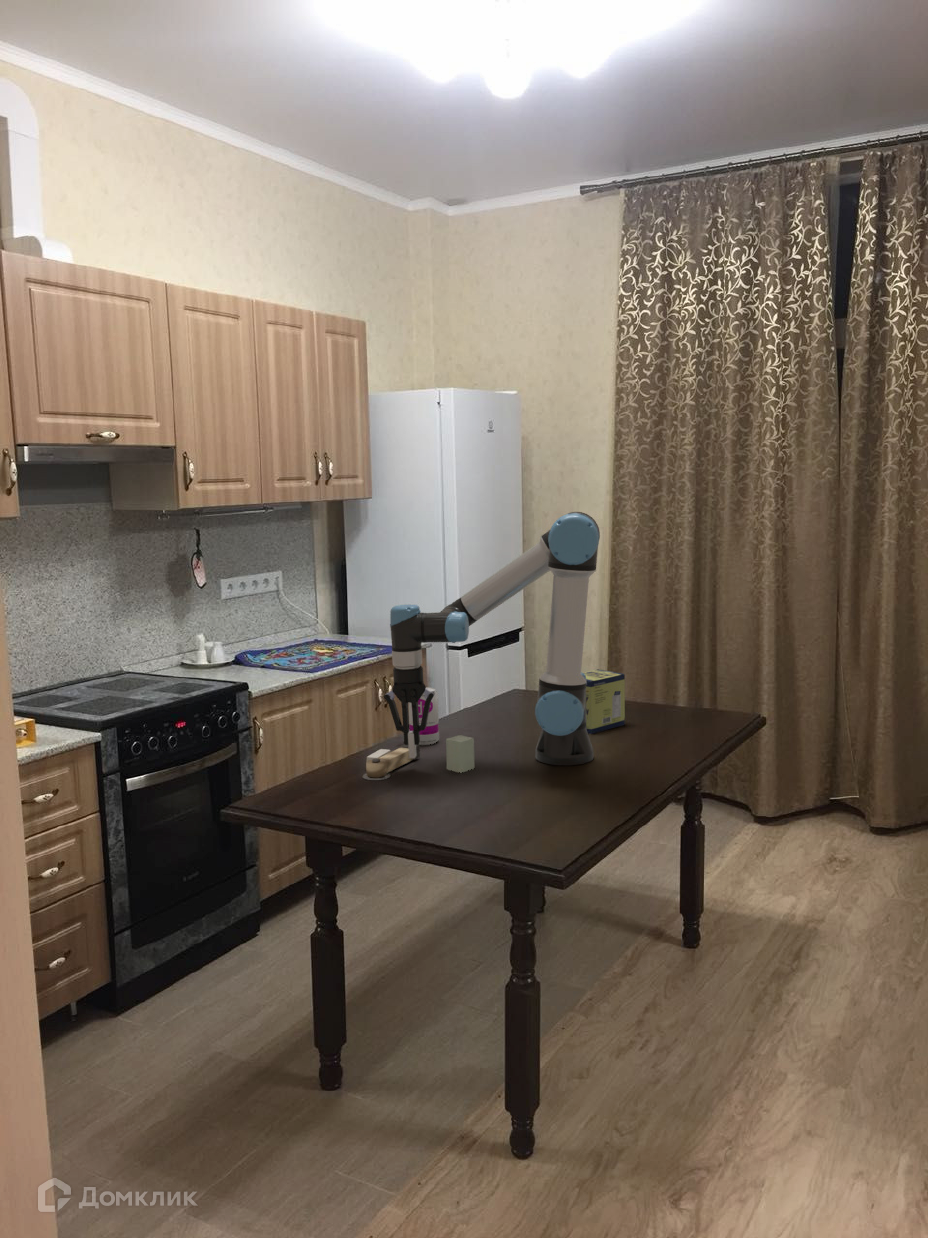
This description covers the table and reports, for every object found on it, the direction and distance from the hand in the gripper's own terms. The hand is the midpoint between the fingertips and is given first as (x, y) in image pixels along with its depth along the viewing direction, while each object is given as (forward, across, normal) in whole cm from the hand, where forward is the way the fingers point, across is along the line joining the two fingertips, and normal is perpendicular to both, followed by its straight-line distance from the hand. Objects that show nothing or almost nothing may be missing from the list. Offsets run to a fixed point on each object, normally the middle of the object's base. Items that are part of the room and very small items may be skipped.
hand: (412, 756), depth 267 cm
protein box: (+5, -47, -46) cm, 65 cm away
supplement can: (+3, +1, -27) cm, 27 cm away
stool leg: (+3, +5, -1) cm, 6 cm away
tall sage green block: (+4, -12, -1) cm, 13 cm away
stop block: (+3, +10, -3) cm, 10 cm away
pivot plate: (+3, +8, +7) cm, 11 cm away
